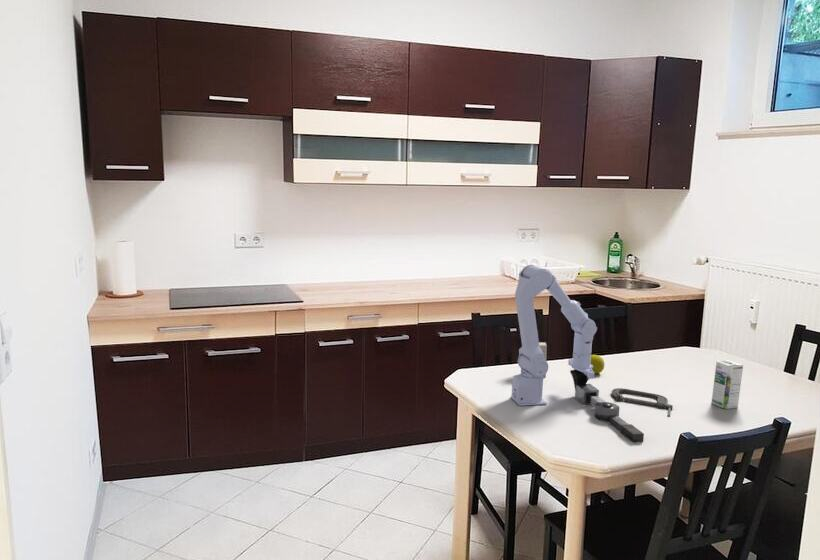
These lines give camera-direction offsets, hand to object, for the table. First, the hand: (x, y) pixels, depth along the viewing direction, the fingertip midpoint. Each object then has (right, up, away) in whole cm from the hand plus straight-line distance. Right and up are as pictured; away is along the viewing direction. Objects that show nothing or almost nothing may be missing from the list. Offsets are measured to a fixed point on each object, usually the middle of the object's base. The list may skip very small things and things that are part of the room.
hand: (579, 392), depth 197 cm
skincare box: (-10, +2, +20) cm, 23 cm away
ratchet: (+4, -5, -22) cm, 23 cm away
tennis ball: (+13, +2, +25) cm, 28 cm away
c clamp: (+19, -3, -3) cm, 20 cm away
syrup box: (+46, -4, -5) cm, 46 cm away
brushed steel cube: (+1, -2, -5) cm, 5 cm away
